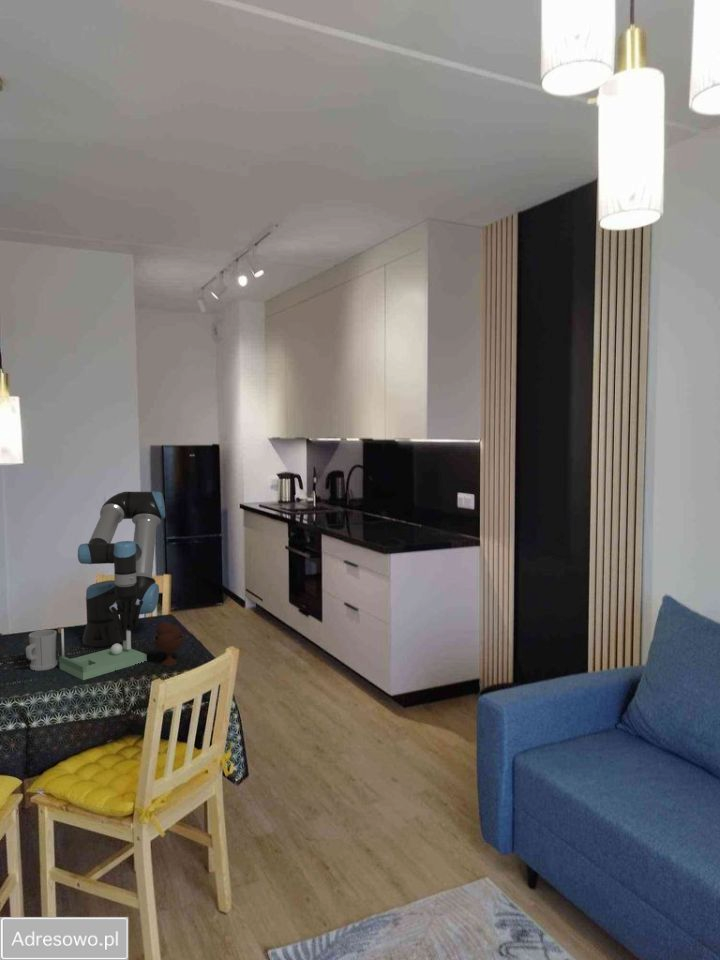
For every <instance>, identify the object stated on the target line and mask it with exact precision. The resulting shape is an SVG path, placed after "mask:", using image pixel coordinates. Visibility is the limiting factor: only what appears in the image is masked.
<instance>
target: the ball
mask: <svg viewBox="0 0 720 960" xmlns="http://www.w3.org/2000/svg"><path fill="white" fill-rule="evenodd" d="M121 645H122V644H120V643H116V644H114V645H111V646H110V648H111V652H112V654H114V655H118V654H120V653H121V652H122V649H123V648H122V646H121Z"/></svg>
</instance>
